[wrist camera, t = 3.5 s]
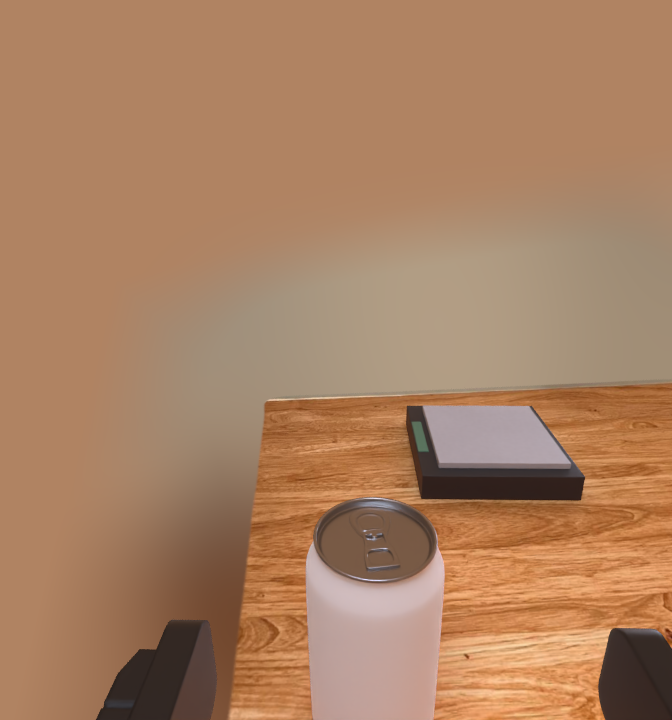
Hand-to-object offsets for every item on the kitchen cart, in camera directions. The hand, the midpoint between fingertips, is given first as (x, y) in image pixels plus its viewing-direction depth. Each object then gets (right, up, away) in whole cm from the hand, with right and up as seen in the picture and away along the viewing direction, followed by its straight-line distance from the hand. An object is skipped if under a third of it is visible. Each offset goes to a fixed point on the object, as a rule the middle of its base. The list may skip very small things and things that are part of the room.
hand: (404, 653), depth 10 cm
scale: (+13, -4, +41) cm, 43 cm away
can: (+1, -13, +17) cm, 22 cm away
